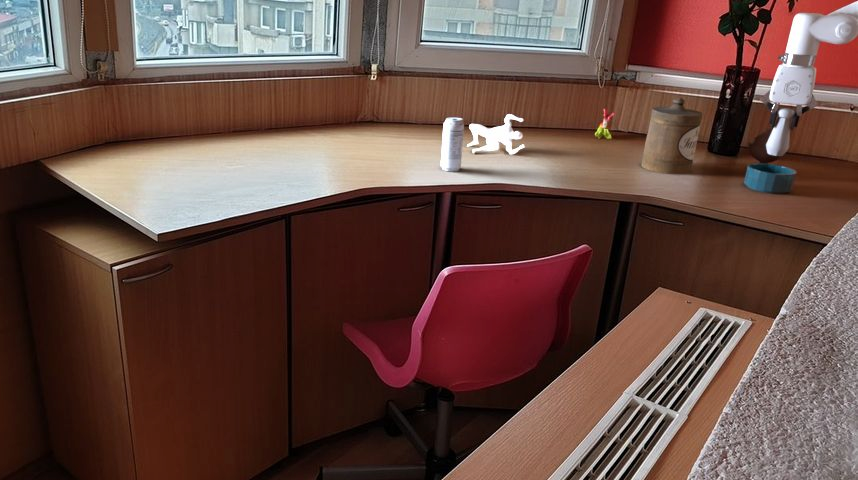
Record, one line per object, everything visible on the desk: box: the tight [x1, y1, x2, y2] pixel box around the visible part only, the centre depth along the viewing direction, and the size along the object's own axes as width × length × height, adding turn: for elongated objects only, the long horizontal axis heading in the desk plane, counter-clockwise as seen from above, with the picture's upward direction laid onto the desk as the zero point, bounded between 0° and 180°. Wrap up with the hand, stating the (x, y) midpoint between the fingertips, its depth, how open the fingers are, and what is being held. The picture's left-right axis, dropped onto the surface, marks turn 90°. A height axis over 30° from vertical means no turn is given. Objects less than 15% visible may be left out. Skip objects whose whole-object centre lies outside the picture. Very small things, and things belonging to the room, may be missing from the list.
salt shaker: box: [766, 107, 795, 157], centre depth 202 cm, size 6×6×13 cm
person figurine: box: [466, 113, 526, 156], centre depth 237 cm, size 13×13×18 cm
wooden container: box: [640, 97, 703, 175], centre depth 222 cm, size 15×15×22 cm
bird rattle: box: [594, 108, 616, 140], centre depth 264 cm, size 6×11×9 cm
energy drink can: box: [440, 116, 465, 172], centre depth 211 cm, size 6×6×15 cm
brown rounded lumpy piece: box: [747, 127, 783, 164], centre depth 220 cm, size 11×11×15 cm
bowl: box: [743, 162, 797, 195], centre depth 207 cm, size 13×13×6 cm
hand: (782, 127), depth 201 cm, fingers closed on salt shaker, 4 cm apart
